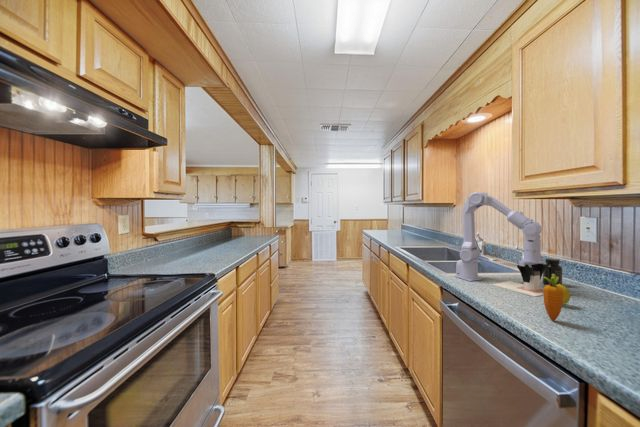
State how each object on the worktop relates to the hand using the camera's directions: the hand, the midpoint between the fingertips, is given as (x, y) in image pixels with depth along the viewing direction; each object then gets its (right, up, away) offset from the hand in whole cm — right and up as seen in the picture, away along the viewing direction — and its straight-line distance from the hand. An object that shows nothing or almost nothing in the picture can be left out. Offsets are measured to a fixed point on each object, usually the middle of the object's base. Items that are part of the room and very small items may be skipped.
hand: (531, 281), depth 116 cm
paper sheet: (-3, -4, +2) cm, 5 cm away
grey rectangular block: (0, -4, 0) cm, 3 cm away
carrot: (-18, -5, -31) cm, 36 cm away
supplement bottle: (+15, -4, +7) cm, 18 cm away
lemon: (-4, -5, -18) cm, 19 cm away
